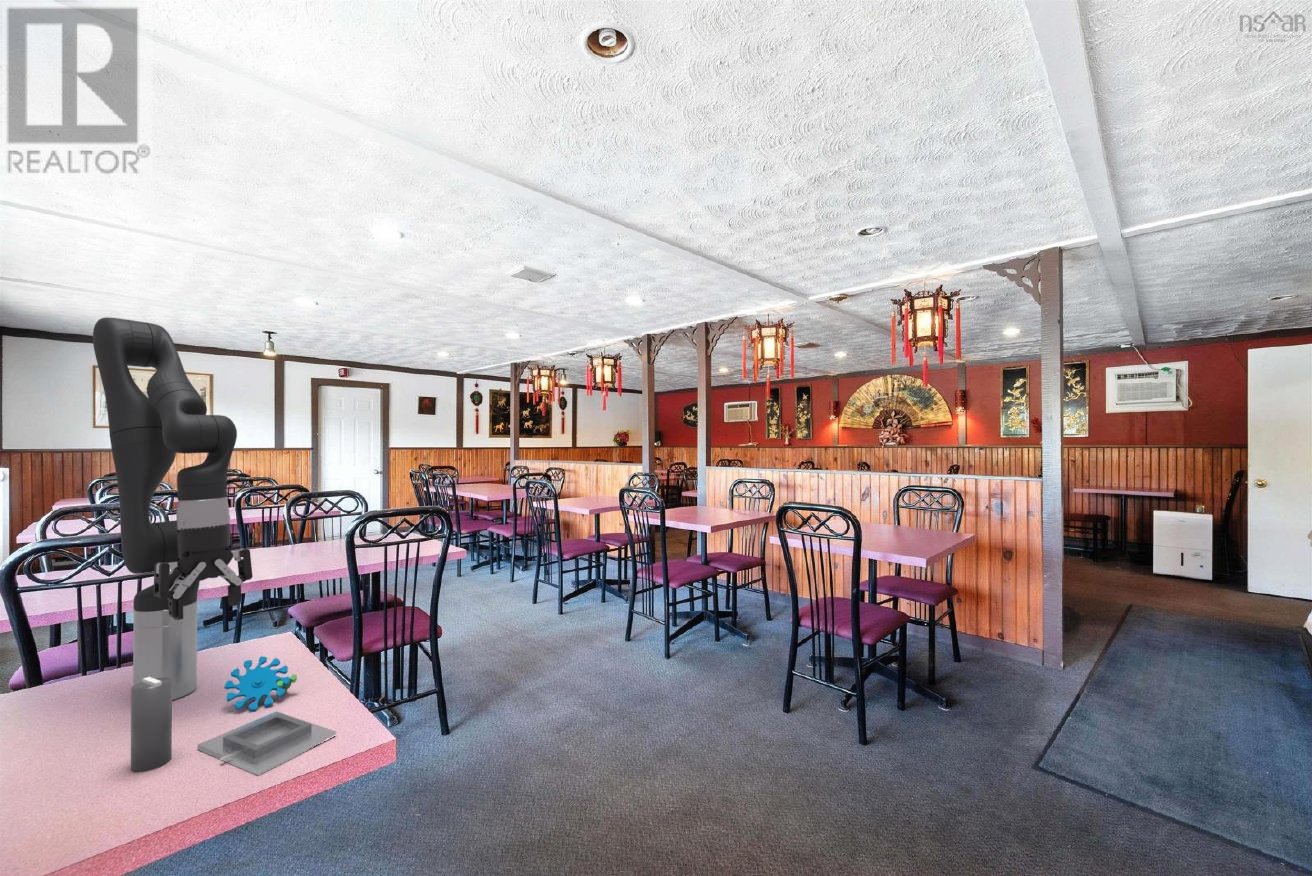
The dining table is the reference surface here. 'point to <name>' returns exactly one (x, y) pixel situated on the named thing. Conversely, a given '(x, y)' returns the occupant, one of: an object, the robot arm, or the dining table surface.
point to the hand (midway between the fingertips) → (206, 612)
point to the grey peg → (151, 724)
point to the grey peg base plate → (265, 742)
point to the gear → (259, 683)
